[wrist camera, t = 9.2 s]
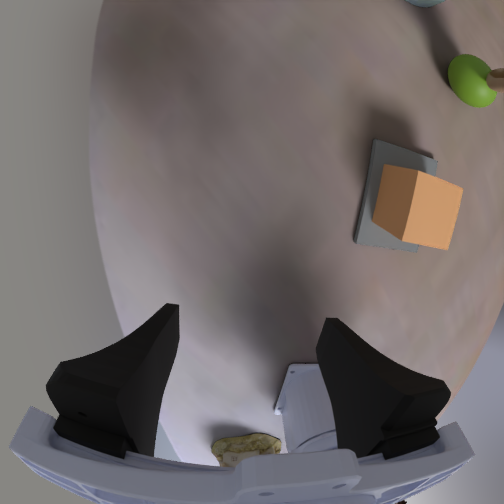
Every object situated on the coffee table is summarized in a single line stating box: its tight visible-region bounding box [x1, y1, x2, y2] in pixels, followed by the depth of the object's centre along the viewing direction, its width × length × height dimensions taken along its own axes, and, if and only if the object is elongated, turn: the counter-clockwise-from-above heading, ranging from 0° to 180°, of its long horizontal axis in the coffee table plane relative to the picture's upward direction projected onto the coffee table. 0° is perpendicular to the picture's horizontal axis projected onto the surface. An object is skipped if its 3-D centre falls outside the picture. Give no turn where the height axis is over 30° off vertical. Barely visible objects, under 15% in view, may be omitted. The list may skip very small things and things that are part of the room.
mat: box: [354, 139, 438, 253], centre depth 21 cm, size 9×7×1 cm
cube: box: [372, 164, 463, 250], centre depth 18 cm, size 5×5×5 cm
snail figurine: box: [448, 54, 504, 108], centre depth 11 cm, size 5×6×12 cm
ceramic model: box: [212, 433, 281, 467], centre depth 31 cm, size 14×11×10 cm
